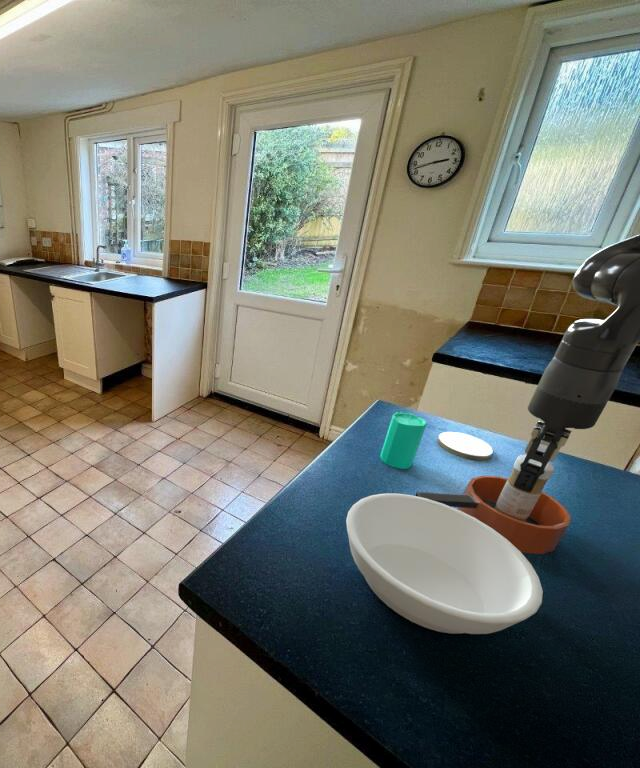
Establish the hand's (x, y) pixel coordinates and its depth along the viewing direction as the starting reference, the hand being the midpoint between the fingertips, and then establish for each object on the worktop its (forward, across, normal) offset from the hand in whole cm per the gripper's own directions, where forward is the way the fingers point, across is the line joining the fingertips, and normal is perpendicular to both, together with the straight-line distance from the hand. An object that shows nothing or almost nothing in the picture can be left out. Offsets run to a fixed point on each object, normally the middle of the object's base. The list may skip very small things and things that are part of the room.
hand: (527, 479), depth 69 cm
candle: (+10, +6, +20) cm, 23 cm away
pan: (+10, -3, +3) cm, 11 cm away
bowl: (+10, -26, +5) cm, 28 cm away
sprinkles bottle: (+10, 0, 0) cm, 10 cm away
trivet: (+10, +23, +12) cm, 28 cm away
